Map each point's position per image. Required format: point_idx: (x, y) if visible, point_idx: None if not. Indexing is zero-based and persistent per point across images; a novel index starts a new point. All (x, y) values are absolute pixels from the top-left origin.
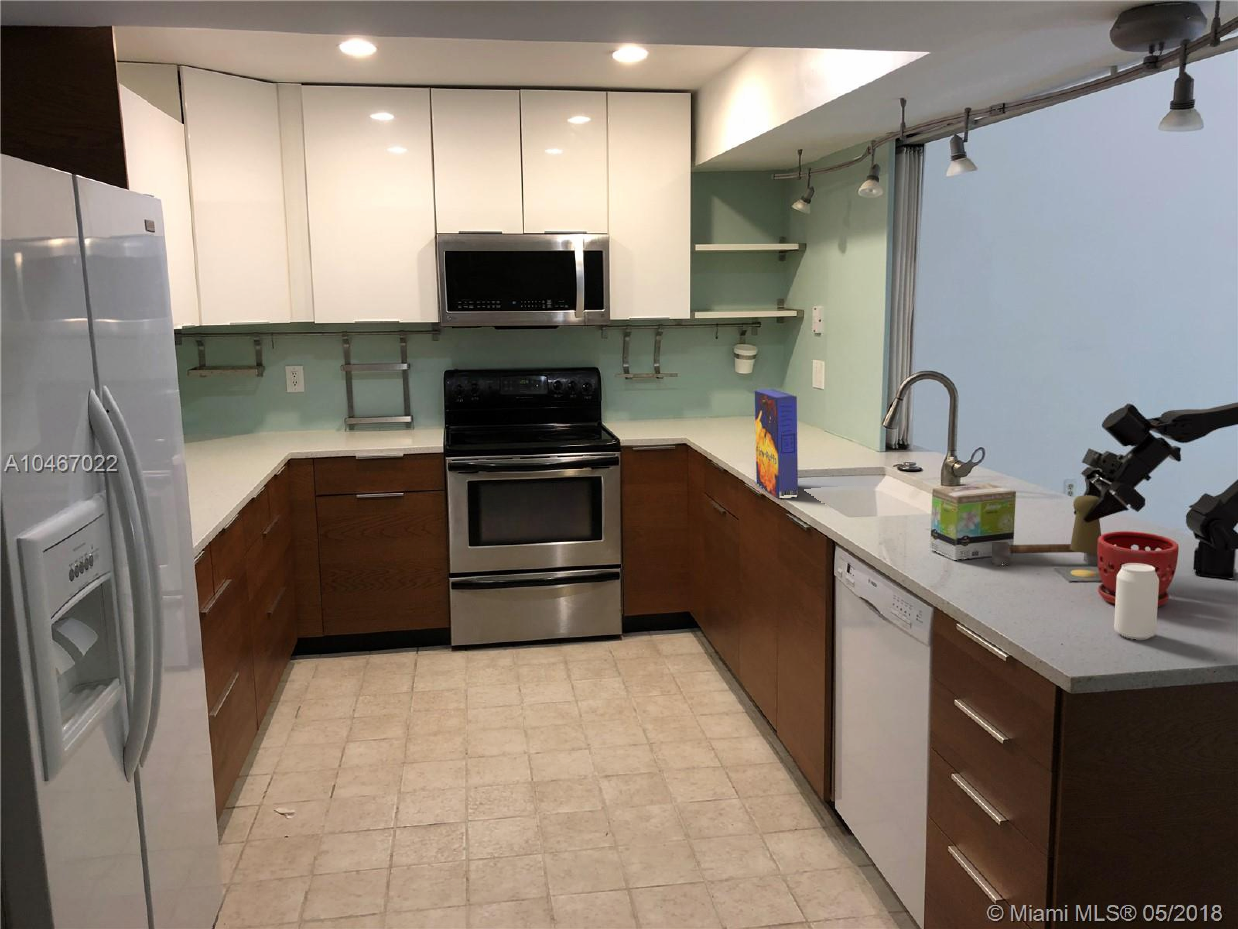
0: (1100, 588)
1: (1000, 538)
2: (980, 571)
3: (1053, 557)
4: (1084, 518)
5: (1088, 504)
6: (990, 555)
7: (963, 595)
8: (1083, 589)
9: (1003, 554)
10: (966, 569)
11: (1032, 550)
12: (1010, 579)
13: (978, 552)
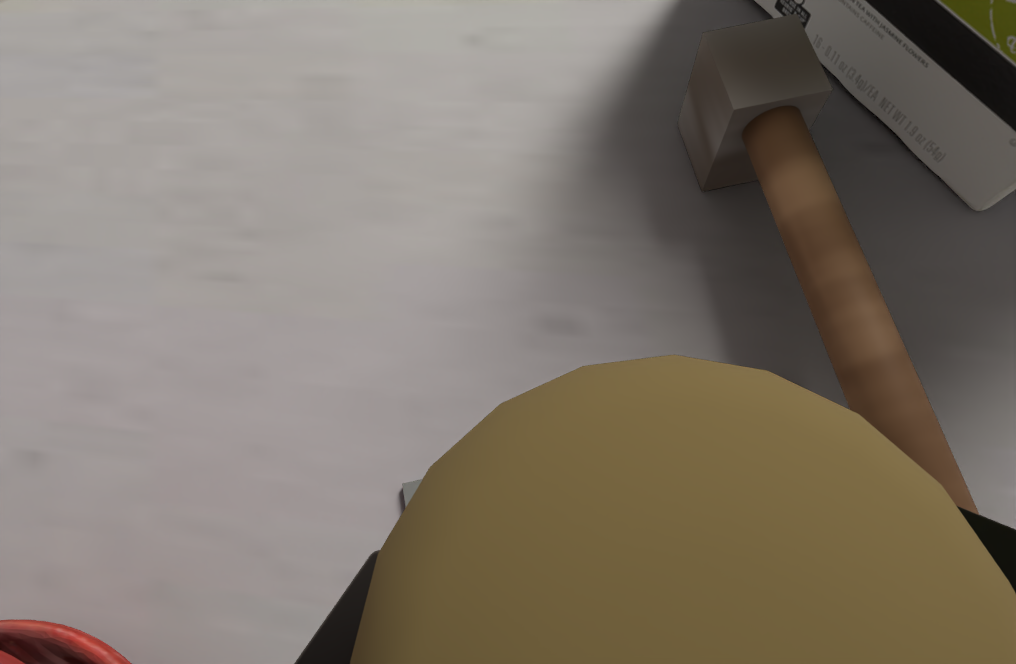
0: (23, 636)
1: (963, 68)
2: (548, 60)
3: (996, 453)
4: (368, 561)
5: (358, 644)
6: (856, 96)
7: (148, 3)
8: (259, 556)
9: (706, 115)
10: (572, 6)
11: (794, 265)
12: (422, 185)
13: (809, 21)
